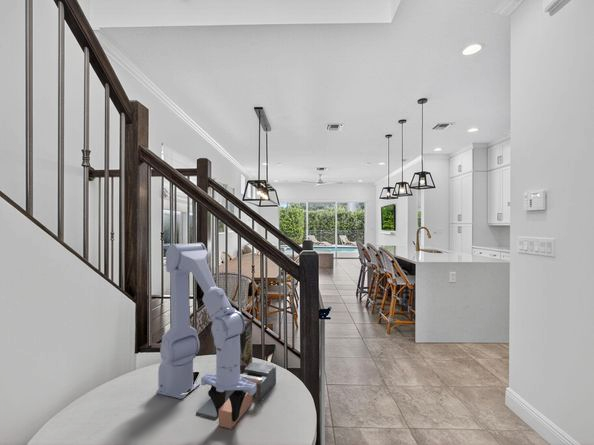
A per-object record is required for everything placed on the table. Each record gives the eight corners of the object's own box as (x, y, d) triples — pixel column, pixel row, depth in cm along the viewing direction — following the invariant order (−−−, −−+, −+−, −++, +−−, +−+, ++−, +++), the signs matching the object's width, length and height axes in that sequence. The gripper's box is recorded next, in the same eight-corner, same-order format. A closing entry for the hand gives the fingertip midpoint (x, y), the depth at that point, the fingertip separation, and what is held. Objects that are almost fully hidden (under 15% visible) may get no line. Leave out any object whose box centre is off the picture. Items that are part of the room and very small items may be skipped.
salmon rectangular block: (218, 425, 73) (218, 409, 73) (240, 400, 84) (240, 385, 84) (231, 428, 72) (231, 412, 72) (252, 402, 83) (252, 388, 83)
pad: (196, 414, 78) (196, 412, 78) (221, 389, 89) (221, 387, 89) (215, 419, 76) (215, 416, 76) (239, 393, 87) (239, 391, 87)
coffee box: (243, 379, 95) (243, 328, 95) (224, 376, 97) (224, 327, 97) (253, 365, 104) (253, 319, 104) (235, 363, 106) (235, 318, 105)
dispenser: (236, 397, 86) (236, 375, 85) (253, 377, 96) (253, 358, 96) (260, 402, 83) (260, 380, 83) (276, 382, 94) (276, 362, 93)
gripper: (193, 365, 73) (193, 421, 73) (246, 375, 68) (246, 434, 68) (210, 353, 79) (210, 404, 80) (260, 361, 75) (260, 415, 75)
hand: (228, 417), depth 74 cm, fingers closed on salmon rectangular block, 3 cm apart
